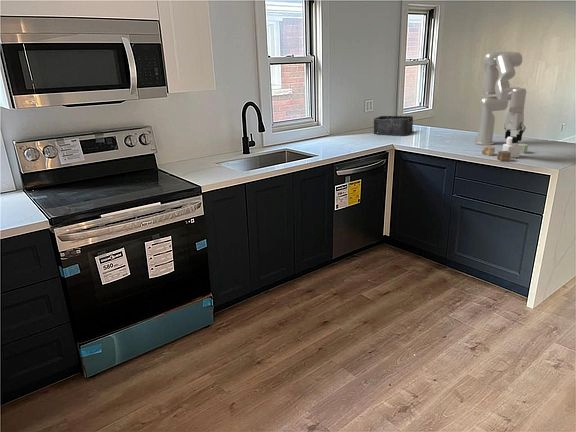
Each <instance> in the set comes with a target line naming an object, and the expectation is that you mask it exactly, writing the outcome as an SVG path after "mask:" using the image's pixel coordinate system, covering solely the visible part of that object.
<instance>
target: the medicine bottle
mask: <svg viewBox="0 0 576 432" xmlns="http://www.w3.org/2000/svg"><path fill="white" fill-rule="evenodd" d="M518 142H519V141H516V136H512V135H510V137H507V139H506V143H503V144H502V150H501V151H508V152H511V155H510V159H511V158H512V159H513V158H515V159H516V157H517V158H520V154H521V153H520V145H517V144H519V143H518Z"/></svg>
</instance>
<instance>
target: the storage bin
mask: <svg viewBox="0 0 576 432" xmlns="http://www.w3.org/2000/svg"><path fill="white" fill-rule="evenodd" d="M413 121H414V116H412V115H380V116H377V117H375V118H374V119H373V135H374V134H377V135H376V136H394V137H395V136H396V137H397V136H399V137H402V136H403V137H404V136H408V135H411V134H412V133H413V130H414V129H413V128H414V126H413V124H414V122H413ZM377 132H378V133H377Z"/></svg>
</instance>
